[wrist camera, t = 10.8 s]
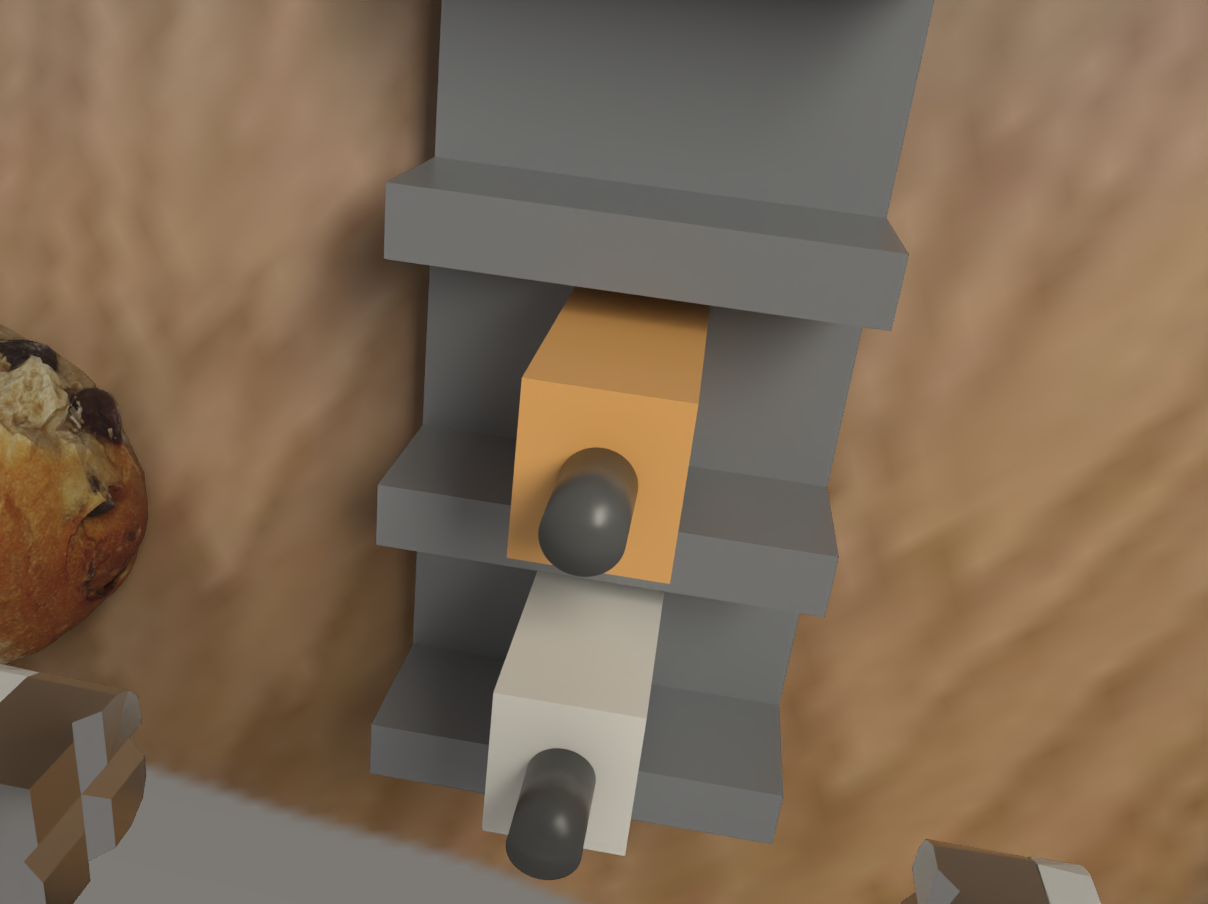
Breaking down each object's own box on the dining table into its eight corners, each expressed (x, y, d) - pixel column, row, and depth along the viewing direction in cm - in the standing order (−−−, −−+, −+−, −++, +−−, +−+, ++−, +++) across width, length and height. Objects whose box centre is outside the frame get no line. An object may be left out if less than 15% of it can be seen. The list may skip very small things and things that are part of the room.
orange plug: (711, 295, 24) (693, 451, 16) (689, 436, 25) (661, 646, 17) (580, 276, 24) (496, 421, 16) (566, 417, 26) (481, 616, 17)
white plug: (670, 545, 27) (637, 789, 18) (652, 660, 28) (614, 934, 20) (553, 527, 27) (468, 760, 19) (541, 642, 28) (457, 905, 20)
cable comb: (951, -117, 21) (1001, -143, 17) (768, 726, 30) (772, 844, 26) (462, -172, 22) (396, -211, 18) (420, 668, 30) (370, 773, 26)
